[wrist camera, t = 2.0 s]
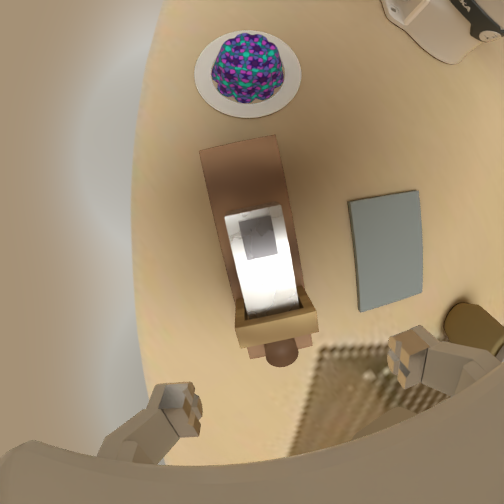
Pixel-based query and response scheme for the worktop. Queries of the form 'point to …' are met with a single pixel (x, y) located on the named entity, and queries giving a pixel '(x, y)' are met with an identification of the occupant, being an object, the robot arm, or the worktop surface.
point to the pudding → (247, 73)
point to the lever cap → (262, 259)
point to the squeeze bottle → (475, 329)
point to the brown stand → (222, 200)
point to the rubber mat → (387, 248)
